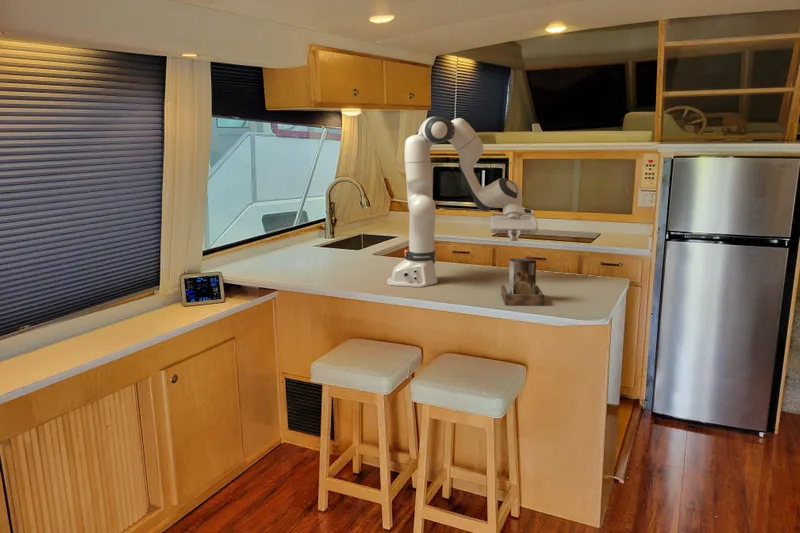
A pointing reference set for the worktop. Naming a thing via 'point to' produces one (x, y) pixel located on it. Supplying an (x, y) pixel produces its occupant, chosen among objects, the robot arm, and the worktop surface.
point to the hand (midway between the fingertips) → (514, 240)
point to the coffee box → (522, 276)
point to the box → (523, 298)
